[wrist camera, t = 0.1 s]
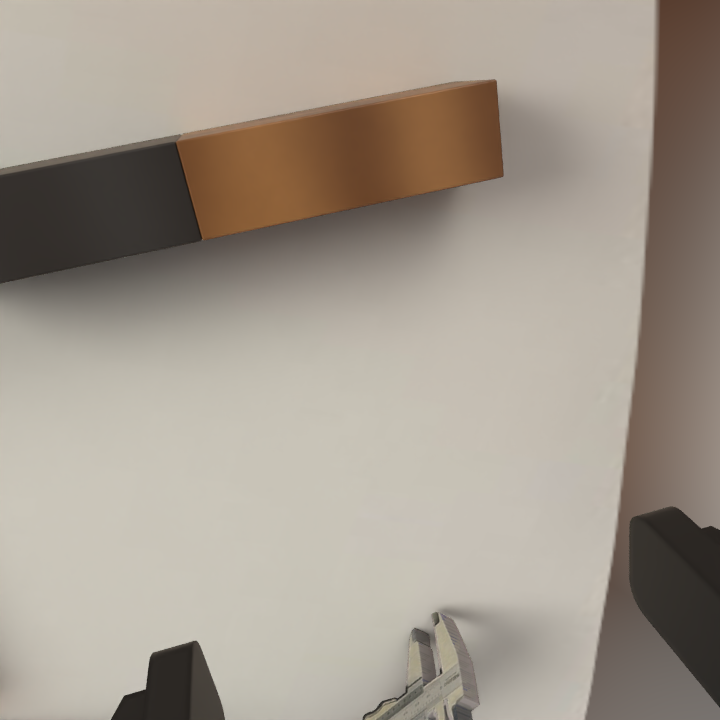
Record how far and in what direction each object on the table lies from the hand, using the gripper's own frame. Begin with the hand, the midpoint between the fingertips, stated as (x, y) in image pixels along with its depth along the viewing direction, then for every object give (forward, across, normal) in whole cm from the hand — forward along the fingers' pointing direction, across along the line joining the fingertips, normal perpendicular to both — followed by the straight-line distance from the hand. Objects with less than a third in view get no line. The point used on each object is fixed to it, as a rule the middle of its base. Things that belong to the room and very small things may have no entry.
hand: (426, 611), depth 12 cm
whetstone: (+16, +3, -6) cm, 17 cm away
